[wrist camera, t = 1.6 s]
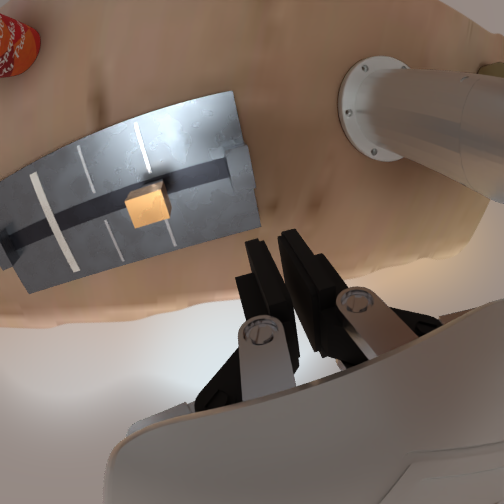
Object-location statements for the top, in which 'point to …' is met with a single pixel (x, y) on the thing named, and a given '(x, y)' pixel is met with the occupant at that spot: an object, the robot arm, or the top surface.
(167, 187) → the grey slider board
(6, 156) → the top surface
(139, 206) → the fader tab
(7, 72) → the paper cup
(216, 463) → the robot arm
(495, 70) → the squeeze bottle
